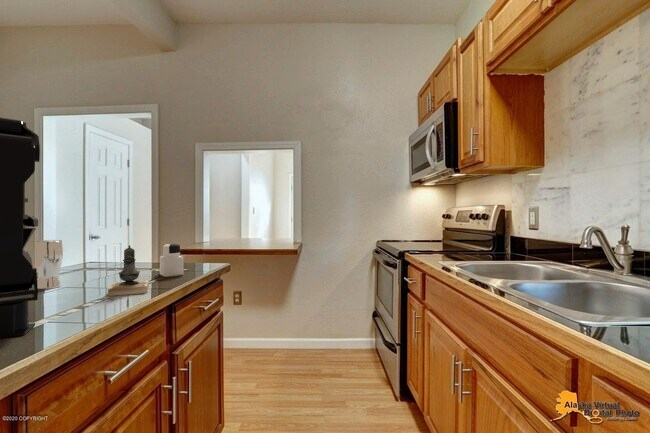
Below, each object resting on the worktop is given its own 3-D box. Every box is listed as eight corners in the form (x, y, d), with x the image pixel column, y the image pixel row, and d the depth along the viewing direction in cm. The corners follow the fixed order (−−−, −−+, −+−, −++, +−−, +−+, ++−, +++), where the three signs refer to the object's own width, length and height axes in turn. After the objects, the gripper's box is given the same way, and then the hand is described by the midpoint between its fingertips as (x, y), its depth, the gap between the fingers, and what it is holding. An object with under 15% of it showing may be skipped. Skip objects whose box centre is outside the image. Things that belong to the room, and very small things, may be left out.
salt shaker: (124, 286, 99) (124, 246, 99) (114, 284, 102) (114, 245, 102) (144, 283, 104) (144, 244, 104) (133, 281, 107) (133, 243, 107)
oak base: (147, 292, 101) (147, 285, 101) (108, 296, 97) (108, 288, 97) (148, 286, 110) (148, 279, 110) (113, 288, 106) (113, 282, 106)
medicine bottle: (178, 272, 136) (178, 243, 136) (183, 275, 130) (183, 244, 130) (159, 274, 131) (159, 244, 131) (164, 277, 126) (164, 245, 126)
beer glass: (30, 288, 106) (30, 241, 106) (56, 284, 112) (56, 239, 112) (40, 290, 103) (41, 242, 103) (66, 286, 109) (67, 240, 109)
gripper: (-17, 194, 85) (-17, 255, 85) (-63, 189, 68) (-62, 266, 68) (38, 195, 90) (38, 253, 90) (9, 191, 73) (9, 262, 73)
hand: (9, 258), depth 80 cm, fingers open, 9 cm apart
